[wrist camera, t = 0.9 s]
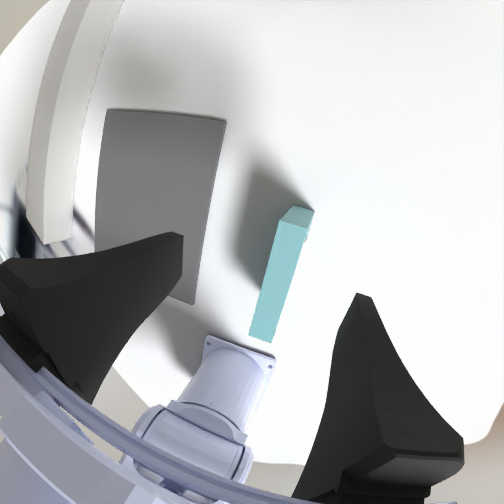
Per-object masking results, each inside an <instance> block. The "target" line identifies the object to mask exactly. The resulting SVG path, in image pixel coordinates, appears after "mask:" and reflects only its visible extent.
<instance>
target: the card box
mask: <svg viewBox="0 0 504 504" xmlns="http://www.w3.org/2000/svg"><path fill="white" fill-rule="evenodd" d="M314 212H315V211H312V210H309V209H306V208H302V207H299V206H296V205H293V206H292V207H291V208H290V209H289V210H288V211H287V212H286V214H285V215H284V216H283V217H282V218H281V219H280V220H279V223H278V227H277V231H276V235H275V239H274V242H273V246H272V250H271V254H270V258H269V261H268V265H267V269H266V272H265V276H264V280H263V284H262V287H261V291H260V295H259V298H258V302H257V306H256V309H255V313H254V316H253V320H252V324H251V327H250V331H249V334H248V335H249V336H252V337H255V338H258V339H261V340H263V341H266V342H269V343H271V342H272V339H273V337H274V334H275V332H276V330H277V329H278V326H279V324H280V321H281V318H282V315H283V312H284V309H285V306H286V303H287V300H288V297H289V294H290V291H291V288H292V285H293V282H294V279H295V276H296V272H297V269H298V266H299V263H300V260H301V256H302V253H303V250H304V247H305V243H306V240H307V236H308V232H309V229H310V226H311V222H312V219H313V215H314Z"/></svg>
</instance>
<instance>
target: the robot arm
mask: <svg viewBox="0 0 504 504" xmlns="http://www.w3.org/2000/svg"><path fill="white" fill-rule="evenodd" d="M183 240H184V235H181V234H178V233H175V232H172V231H171V232H166V233H162V234H158V235H155V236H151V237H148V238H145V239H142V240H138V241H135V242H132V243H129V244H125V245H121V246H118V247H114V248H111V249H107V250H103V251H99V252H94V253H89V254H84V255H77V256H69V257H61V258H47V259H28V258H10V259H8V260H6V261H5V262H3V263H2V264H0V303H1V306H2V308H3V310H4V312H5V314H4V315H2V316H0V415H1V416H2V418H1V419H0V432H1V433H2V435H3V436H4V437H5V438H4V440H3V441H2V442H1V443H0V504H229V503H230V504H424V498H426V497H429V495H430V492H431V486H433V485H435V484H437V483H439V482H441V481H443V480H445V479H447V478H449V477H451V476H453V475H454V474H456V473H457V472H458V471H459V470H460V469H461V468H462V467H463V465H464V442H463V438H462V437H461V436H460V435H459V434H458V433H457V432H456V431H455V430H454V429H453V428H452V427H451V426H450V425H449V424H448V423H447V422H446V421H445V420H444V419H443V418H442V417H441V415H440V414H439V413H438V412H437V411H436V410H435V408H434V407H433V406H432V405H431V404H430V402H429V401H428V400H427V399H426V397H425V396H424V394H423V393H422V392H421V390H420V389H419V388H418V386H417V385H416V383H415V382H414V380H413V379H412V377H411V376H410V374H409V373H408V371H407V369H406V368H405V366H404V364H403V363H402V361H401V359H400V357H399V356H398V354H397V352H396V350H395V348H394V346H393V344H392V342H391V340H390V338H389V336H388V334H387V332H386V329H385V327H384V325H383V323H382V321H381V318H380V316H379V314H378V312H377V309H376V307H375V305H374V302H373V300H372V298H371V297H369V296H366V295H363V294H359V293H356V295H355V297H354V299H353V301H352V303H351V305H350V307H349V309H348V311H347V313H346V315H345V317H344V319H343V321H342V323H341V325H340V327H339V329H338V332H337V336H336V340H335V345H334V349H333V354H332V362H331V370H330V377H329V385H328V392H327V398H326V403H325V408H324V412H323V415H322V419H321V422H320V426H319V429H318V432H317V435H316V438H315V441H314V444H313V447H312V450H311V452H310V455H309V457H308V460H307V463H306V465H305V468H304V470H303V472H302V475H301V477H300V479H299V481H298V484H297V486H296V488H295V490H294V492H293V494H292V496H291V497H287V496H283V495H279V494H275V493H271V492H268V491H264V490H261V489H257V488H254V487H251V486H248V485H244V482H245V480H246V478H247V476H248V474H249V472H250V469H251V466H252V463H253V458H254V455H253V453H252V450H251V447H249V446H246V445H244V444H245V441H246V439H247V436H248V435H246V434H245V432H246V430H247V427H248V425H249V422H250V420H251V417H252V415H253V412H254V411H257V409H258V407H259V405H260V402H261V400H262V398H263V395H264V393H265V390H266V388H267V386H268V383H269V381H270V378H271V376H272V373H273V371H274V368H275V366H276V363H277V361H276V360H275V359H274V358H271V357H268V356H265V355H262V354H259V353H257V352H254V351H251V350H248V349H245V348H243V347H240V346H237V345H235V344H232V343H229V342H227V341H224V340H221V339H219V338H216V337H214V336H211V335H207V336H206V338H205V342H204V348H203V354H202V360H201V366H200V367H199V369H198V370H197V372H196V373H195V375H194V376H193V378H192V379H191V381H190V382H189V384H188V385H187V386H186V388H185V389H184V391H183V392H182V394H181V395H180V397H179V398H178V400H177V401H174V400H171V402H170V403H169V404H168V406H167V407H164V406H162V405H160V404H159V405H156V406H153V407H150V408H149V409H147V410H146V411H145V413H143V415H142V416H141V417H140V418H139V420H138V421H137V423H136V424H135V426H134V428H133V429H132V431H131V432H130V431H128V430H127V429H125V428H124V427H122V426H120V425H119V424H117V423H116V422H114V421H113V420H111V419H110V418H108V417H107V416H105V415H104V414H102V413H101V412H100V411H98V410H97V409H95V408H94V407H92V406H91V405H92V403H93V400H94V398H95V396H96V394H97V392H98V390H99V388H100V386H101V384H102V382H103V380H104V378H105V377H106V375H107V373H108V371H109V369H110V368H111V366H112V364H113V363H114V361H115V360H116V358H117V357H118V355H119V353H120V352H121V350H122V349H123V347H124V346H125V344H126V343H127V342H128V340H129V339H130V337H131V336H132V335H133V333H134V332H135V331H136V329H137V328H138V327H139V326H140V325H141V324H142V323H143V322H144V320H145V319H146V318H147V317H148V316H149V315H150V314H151V313H152V312H153V311H154V310H155V309H156V308H157V306H158V305H159V304H160V303H161V302H162V301H163V300H164V299H165V298H166V297H167V296H168V294H169V293H170V292H171V291H172V289H173V288H174V287H175V285H176V284H177V282H178V281H179V279H180V278H181V276H182V266H183ZM208 342H209V343H210V344H209V343H208ZM269 365H272V366H269ZM60 406H61V407H62V408H63V409H65V410H66V411H67V412H68V413H69V414H71V415H72V416H73V417H74V418H76V419H77V420H78V421H79V422H81V423H82V424H83V425H84V426H86V427H87V428H88V429H90V430H91V431H92V432H94V433H95V434H97V435H98V436H99V437H101V438H102V439H104V440H105V441H107V442H108V443H110V444H111V445H113V446H114V447H116V448H117V449H119V450H120V451H122V452H123V455H122V458H121V459H120V461H119V463H118V462H116V461H115V460H113V459H112V458H110V457H108V456H107V455H106V454H104V453H103V452H101V451H100V450H99V449H97V448H96V447H94V446H93V445H94V443H93V442H92V440H90V439H89V438H88V437H87V436H86V435H85V434H84V433H83V432H82V431H81V429H80V428H79V427H78V426H77V425H76V423H75V422H74V420H73V419H71V418H70V416H68V415H67V414H66V413H65V412H64V411H63V410H62V409H61V408H60ZM432 504H457V502H456V501H453V502H444V503H432Z"/></svg>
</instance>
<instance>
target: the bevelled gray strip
mask: <svg viewBox="0 0 504 504" xmlns="http://www.w3.org/2000/svg"><path fill="white" fill-rule="evenodd" d="M123 2H124V0H71V2H70V4H69V6H68V8H67V10H66V13H65V15H64V17H63V20H62V22H61V25H60V27H59V30H58V32H57V35H56V38H55V41H54V43H53V46H52V49H51V52H50V55H49V59H48V62H47V65H46V69H45V72H44V76H43V80H42V84H41V88H40V92H39V96H38V101H37V106H36V111H35V116H34V122H33V128H32V135H31V142H30V151H29V161H28V174H27V197H26V217H27V219H28V220H29V222H30V224H31V225H32V227H33V229H34V230H35V232H36V233H37V235H38V236H39V238H40V239H41V241H42V242H43V244H44V245H45V244H49V243H54V242H58V241H63V240H67V239H71V238H72V221H73V204H74V191H75V181H76V172H77V164H78V157H79V150H80V144H81V138H82V132H83V127H84V122H85V117H86V113H87V108H88V104H89V100H90V96H91V92H92V88H93V84H94V81H95V77H96V74H97V70H98V67H99V64H100V61H101V58H102V55H103V52H104V49H105V46H106V43H107V40H108V38H109V35H110V32H111V30H112V27H113V25H114V23H115V20H116V18H117V15H118V13H119V11H120V8H121V6H122V4H123Z"/></svg>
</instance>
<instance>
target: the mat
mask: <svg viewBox="0 0 504 504" xmlns="http://www.w3.org/2000/svg"><path fill="white" fill-rule="evenodd" d="M226 123H227V122H225V121H220V120H213V119H206V118H199V117H191V116H183V115H174V114H164V113H152V112H138V111H117V110H107V112H106V117H105V123H104V129H103V135H102V142H101V150H100V158H99V167H98V178H97V190H96V208H95V252H99V251H103V250H107V249H111V248H114V247H118V246H121V245H125V244H129V243H132V242H135V241H138V240H142V239H145V238H148V237H151V236H155V235H158V234H162V233H166V232H171V231H172V232H175V233H178V234H181V235H184V240H183V266H182V276H181V278H180V279H179V281H178V282H177V284H176V285H175V287H174V288H173V289H172V291H171V292H170V293H169V294H168V296H171V297H173V298H175V299H178V300H180V301H183V302H185V303H188V304H190V305H193V304H194V300H195V293H196V286H197V280H198V273H199V266H200V260H201V254H202V247H203V241H204V235H205V230H206V224H207V218H208V213H209V207H210V202H211V196H212V191H213V186H214V181H215V175H216V170H217V165H218V161H219V156H220V151H221V146H222V142H223V137H224V132H225V128H226Z"/></svg>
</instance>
